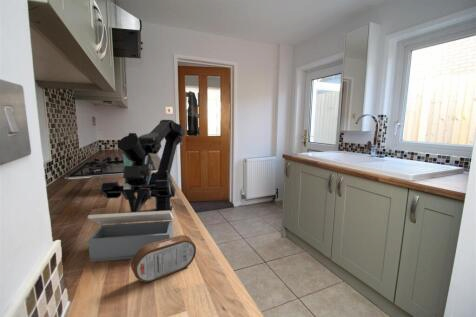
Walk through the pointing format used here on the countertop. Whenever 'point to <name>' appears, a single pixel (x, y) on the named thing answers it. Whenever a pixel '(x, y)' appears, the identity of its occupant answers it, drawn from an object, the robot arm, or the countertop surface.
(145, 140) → the robot arm
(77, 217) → the countertop surface
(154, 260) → the tin
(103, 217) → the lid
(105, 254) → the storage box
